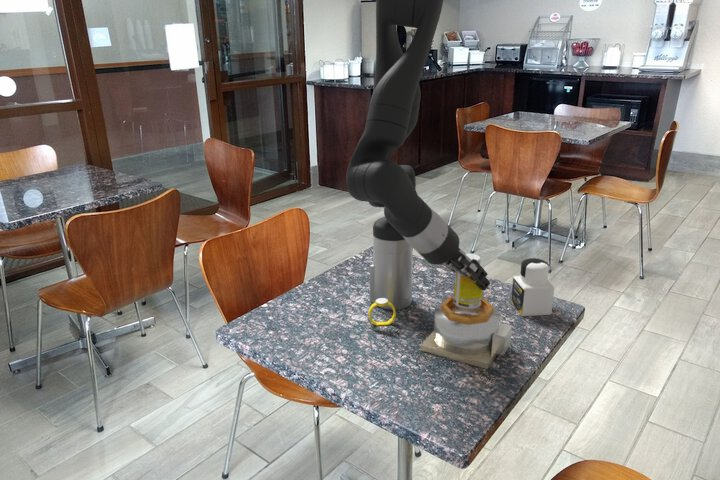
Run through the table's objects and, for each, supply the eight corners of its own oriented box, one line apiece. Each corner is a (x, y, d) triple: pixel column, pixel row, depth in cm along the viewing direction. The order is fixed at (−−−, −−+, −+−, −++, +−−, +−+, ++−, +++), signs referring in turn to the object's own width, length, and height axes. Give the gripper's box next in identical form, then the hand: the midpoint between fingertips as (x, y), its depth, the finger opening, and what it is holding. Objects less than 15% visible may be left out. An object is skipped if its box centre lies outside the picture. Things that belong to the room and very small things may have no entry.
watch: (370, 329, 121) (368, 305, 119) (368, 323, 124) (366, 299, 122) (397, 325, 122) (395, 301, 119) (395, 319, 124) (393, 296, 122)
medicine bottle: (510, 302, 132) (514, 256, 127) (539, 301, 132) (544, 254, 128) (521, 316, 125) (525, 268, 121) (551, 315, 125) (557, 266, 121)
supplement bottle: (487, 307, 110) (490, 259, 106) (464, 312, 108) (467, 264, 104) (470, 296, 115) (473, 250, 111) (447, 301, 112) (450, 254, 109)
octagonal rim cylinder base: (420, 350, 112) (421, 312, 109) (446, 321, 123) (447, 285, 120) (496, 371, 105) (499, 331, 102) (516, 338, 116) (519, 301, 113)
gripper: (467, 229, 95) (512, 278, 105) (418, 209, 107) (463, 255, 117) (441, 264, 95) (489, 310, 104) (395, 240, 106) (442, 283, 116)
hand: (475, 280), depth 110 cm, fingers closed on supplement bottle, 5 cm apart
